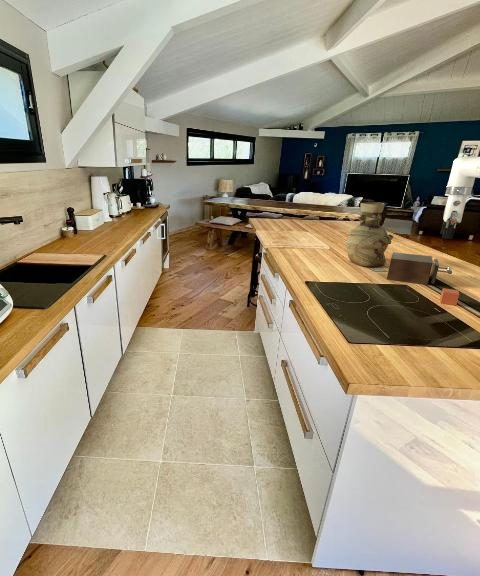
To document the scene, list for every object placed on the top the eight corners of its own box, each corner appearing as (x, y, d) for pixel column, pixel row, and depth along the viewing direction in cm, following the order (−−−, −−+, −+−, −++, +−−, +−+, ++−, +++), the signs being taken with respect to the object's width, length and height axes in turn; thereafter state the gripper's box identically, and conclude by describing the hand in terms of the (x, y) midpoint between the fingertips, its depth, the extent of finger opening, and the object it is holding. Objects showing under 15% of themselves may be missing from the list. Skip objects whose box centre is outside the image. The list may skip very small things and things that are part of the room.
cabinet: (426, 277, 139) (432, 256, 136) (427, 285, 130) (433, 263, 126) (388, 272, 147) (392, 252, 144) (386, 279, 137) (391, 258, 134)
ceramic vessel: (395, 269, 151) (409, 205, 140) (348, 267, 155) (358, 205, 145) (382, 259, 168) (394, 201, 158) (340, 257, 173) (348, 201, 162)
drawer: (447, 278, 135) (452, 260, 132) (449, 285, 126) (454, 267, 123) (397, 271, 145) (400, 255, 142) (395, 278, 136) (399, 261, 133)
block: (454, 301, 113) (458, 290, 112) (456, 305, 110) (459, 294, 108) (439, 299, 116) (442, 288, 114) (440, 303, 112) (443, 291, 111)
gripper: (474, 193, 111) (460, 241, 117) (467, 190, 124) (455, 233, 130) (448, 193, 114) (435, 239, 120) (444, 190, 128) (433, 231, 134)
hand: (446, 236), depth 125 cm, fingers open, 9 cm apart
